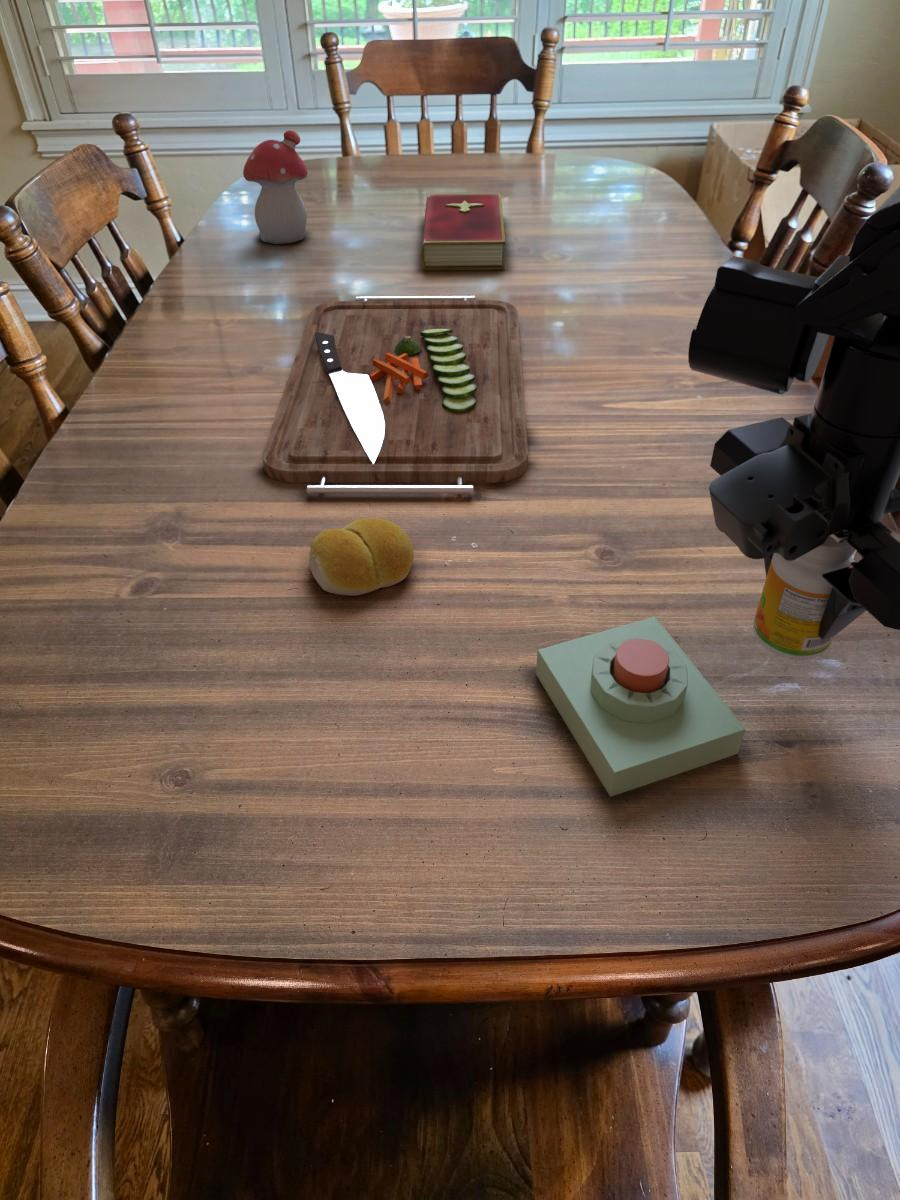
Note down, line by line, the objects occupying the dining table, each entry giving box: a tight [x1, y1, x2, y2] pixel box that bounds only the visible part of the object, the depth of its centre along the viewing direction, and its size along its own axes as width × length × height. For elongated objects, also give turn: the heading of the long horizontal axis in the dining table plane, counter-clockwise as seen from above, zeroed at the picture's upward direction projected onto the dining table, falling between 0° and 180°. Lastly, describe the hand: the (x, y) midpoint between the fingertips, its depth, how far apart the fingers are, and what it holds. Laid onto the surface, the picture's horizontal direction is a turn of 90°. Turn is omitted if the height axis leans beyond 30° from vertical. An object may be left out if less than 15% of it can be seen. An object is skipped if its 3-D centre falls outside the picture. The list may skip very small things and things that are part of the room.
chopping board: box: [262, 295, 529, 495], centre depth 99 cm, size 45×27×3 cm, turn 179°
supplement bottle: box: [752, 535, 856, 661], centre depth 59 cm, size 5×5×10 cm
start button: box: [613, 639, 669, 693], centre depth 60 cm, size 4×4×2 cm
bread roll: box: [307, 517, 415, 597], centre depth 75 cm, size 8×9×4 cm
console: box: [535, 616, 746, 798], centre depth 62 cm, size 10×12×4 cm
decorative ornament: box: [242, 129, 308, 245], centre depth 131 cm, size 9×6×15 cm
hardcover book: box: [420, 192, 506, 271], centre depth 132 cm, size 12×21×4 cm, turn 179°
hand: (799, 610), depth 61 cm, fingers closed on supplement bottle, 5 cm apart
